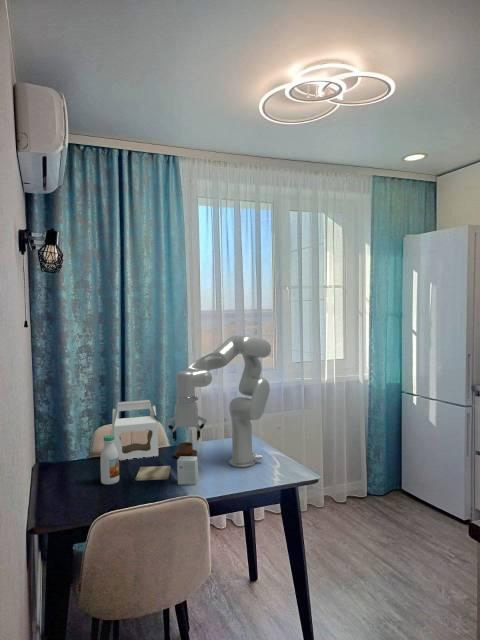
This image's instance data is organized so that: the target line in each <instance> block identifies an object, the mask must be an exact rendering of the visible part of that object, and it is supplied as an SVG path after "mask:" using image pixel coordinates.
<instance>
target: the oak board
mask: <svg viewBox="0 0 480 640" xmlns="http://www.w3.org/2000/svg"><path fill="white" fill-rule="evenodd" d="M171 469H172V467H171V465H162V466H161V465H160V466H156V465H155V466H140V467H139V470H138V472H137V475H136V477H135V481H153V480H154V481H155V480H169V477H170V474H171V473H170V472H171Z"/></svg>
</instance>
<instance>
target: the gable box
mask: <svg viewBox="0 0 480 640" xmlns="http://www.w3.org/2000/svg"><path fill="white" fill-rule="evenodd" d="M137 410H149V415H143V416H132V417H121V418H119V413H120V412H125V411H126V412H127V411H137ZM111 418H112V420H111V423H112V425H111V427H112V431H111V432H112V435H114V437H115V439H114V440H115V441H114V444H115V447H116V449H117V451H118V455H119V460H120V461H127V460H126V459H128V460H134V459H133V458H137V459H144V458H143V457H145V458H152V457H153V456H154V457H159V428H158V427H159V424H158V419H157V408H156V405H154V404H153V405H152V403H151V400H150V399H141V400H128V401H118V403H117V407H116V408H112V417H111ZM143 431H148V432H147V437H146V438H147V442H146V443H144V444H143V443H130V444H128V445H123V444H122V441H121V440H122V438H121V434H122V433H124V432H143Z"/></svg>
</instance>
